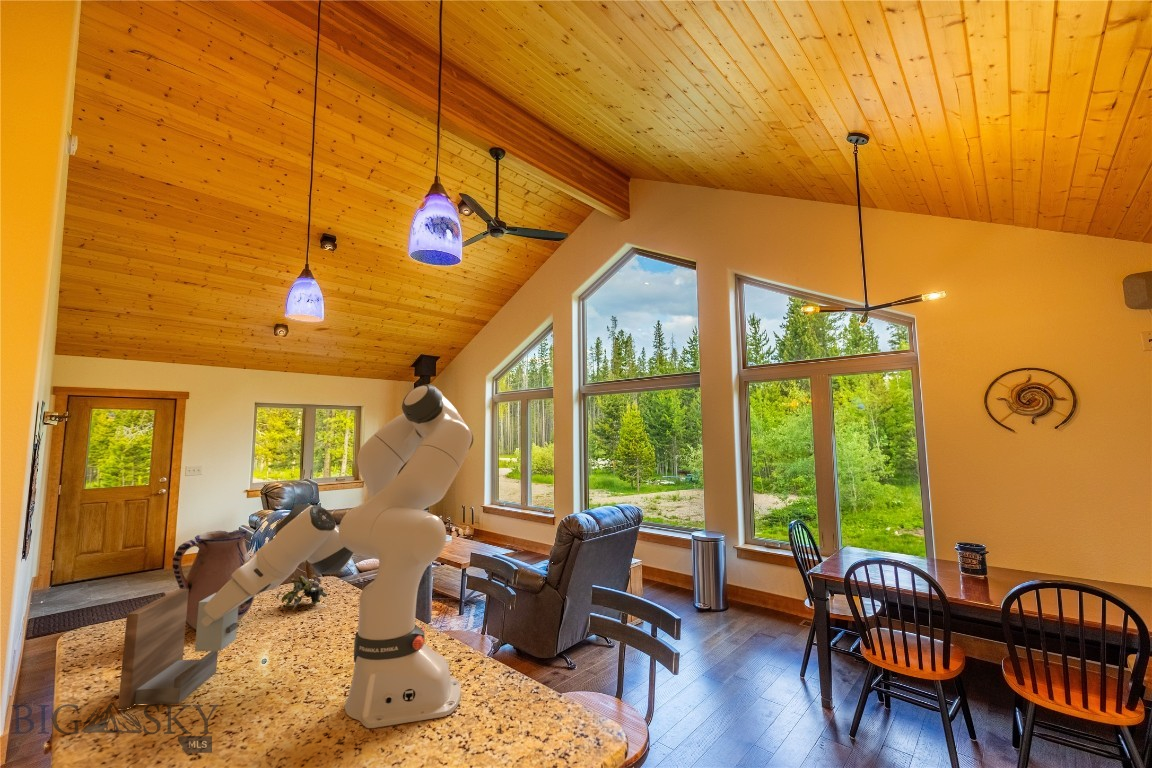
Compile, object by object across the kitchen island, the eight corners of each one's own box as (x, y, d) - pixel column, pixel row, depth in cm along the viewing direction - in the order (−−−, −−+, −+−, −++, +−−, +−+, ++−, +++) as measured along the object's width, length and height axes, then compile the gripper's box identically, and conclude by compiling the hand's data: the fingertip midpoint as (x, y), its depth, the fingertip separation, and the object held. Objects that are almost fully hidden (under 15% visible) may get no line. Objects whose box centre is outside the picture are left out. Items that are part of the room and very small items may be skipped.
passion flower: (312, 621, 158) (337, 589, 160) (286, 627, 148) (312, 593, 149) (292, 596, 162) (316, 565, 164) (265, 600, 152) (291, 567, 153)
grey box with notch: (239, 638, 112) (243, 592, 113) (224, 650, 106) (228, 601, 107) (211, 639, 111) (215, 592, 112) (194, 651, 105) (198, 602, 106)
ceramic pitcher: (267, 616, 147) (274, 529, 150) (202, 646, 127) (211, 544, 129) (216, 611, 150) (223, 526, 153) (144, 640, 130) (154, 540, 132)
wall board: (219, 669, 115) (226, 587, 117) (174, 707, 99) (182, 612, 101) (171, 671, 114) (179, 588, 115) (117, 710, 98) (127, 614, 99)
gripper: (278, 547, 121) (231, 590, 119) (232, 571, 101) (174, 623, 99) (297, 566, 121) (250, 609, 119) (254, 594, 101) (197, 646, 99)
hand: (215, 616), depth 109 cm, fingers closed on grey box with notch, 6 cm apart
